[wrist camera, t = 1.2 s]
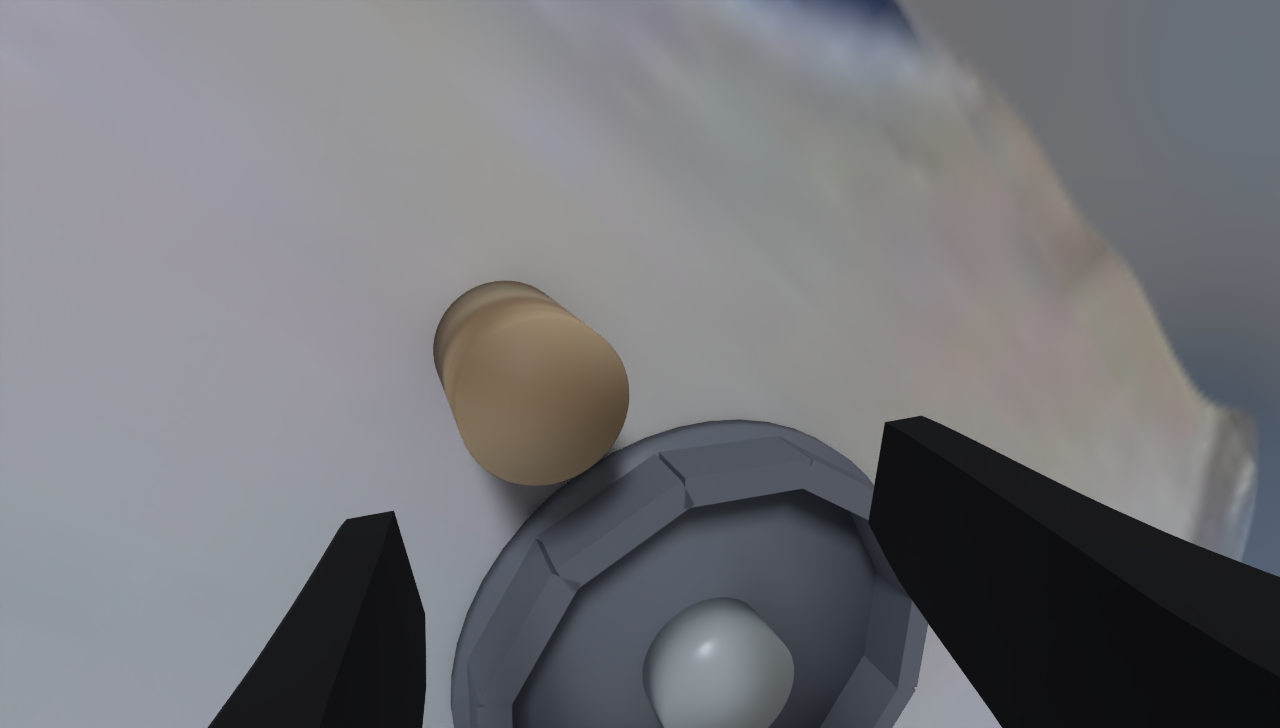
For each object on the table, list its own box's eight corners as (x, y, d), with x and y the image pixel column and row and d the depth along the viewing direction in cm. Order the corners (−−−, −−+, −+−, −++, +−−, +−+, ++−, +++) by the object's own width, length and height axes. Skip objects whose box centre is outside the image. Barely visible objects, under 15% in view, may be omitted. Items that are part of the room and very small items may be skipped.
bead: (530, 432, 21) (577, 508, 17) (407, 380, 19) (423, 450, 15) (593, 318, 21) (658, 364, 16) (475, 255, 19) (512, 287, 15)
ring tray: (747, 858, 31) (781, 920, 28) (352, 813, 22) (351, 896, 20) (957, 513, 29) (1012, 547, 27) (620, 333, 21) (656, 357, 19)
